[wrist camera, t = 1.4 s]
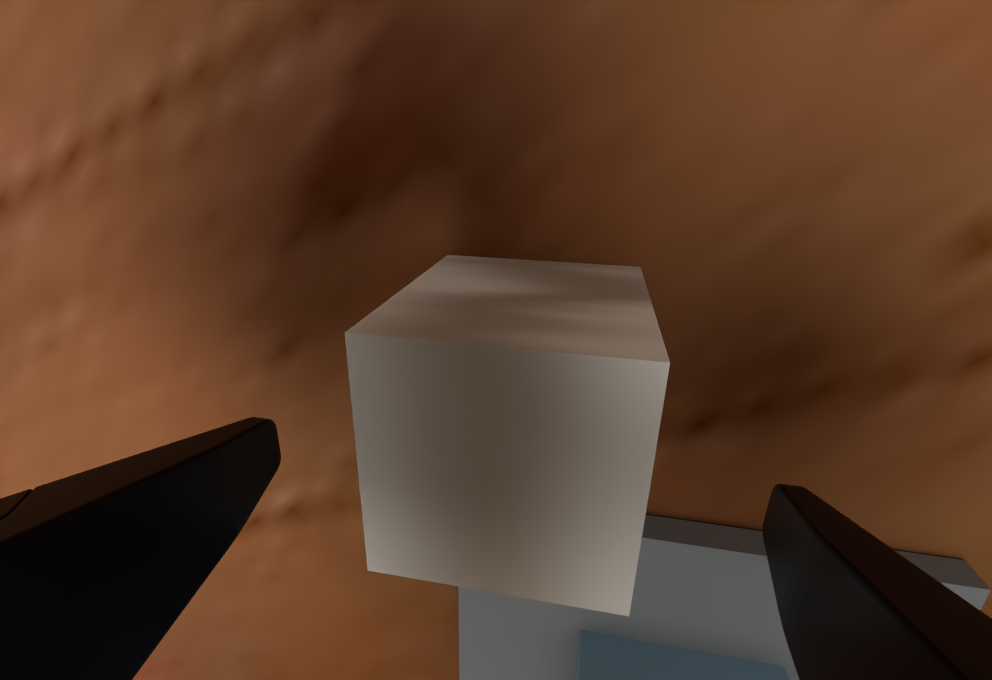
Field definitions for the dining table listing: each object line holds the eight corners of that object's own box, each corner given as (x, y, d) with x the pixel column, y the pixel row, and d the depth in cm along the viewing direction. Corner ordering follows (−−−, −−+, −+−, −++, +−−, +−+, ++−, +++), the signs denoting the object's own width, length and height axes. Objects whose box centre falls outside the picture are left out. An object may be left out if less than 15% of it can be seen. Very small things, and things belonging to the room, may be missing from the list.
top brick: (640, 266, 13) (670, 363, 7) (618, 437, 15) (629, 616, 9) (448, 254, 14) (344, 332, 8) (450, 417, 15) (368, 570, 10)
